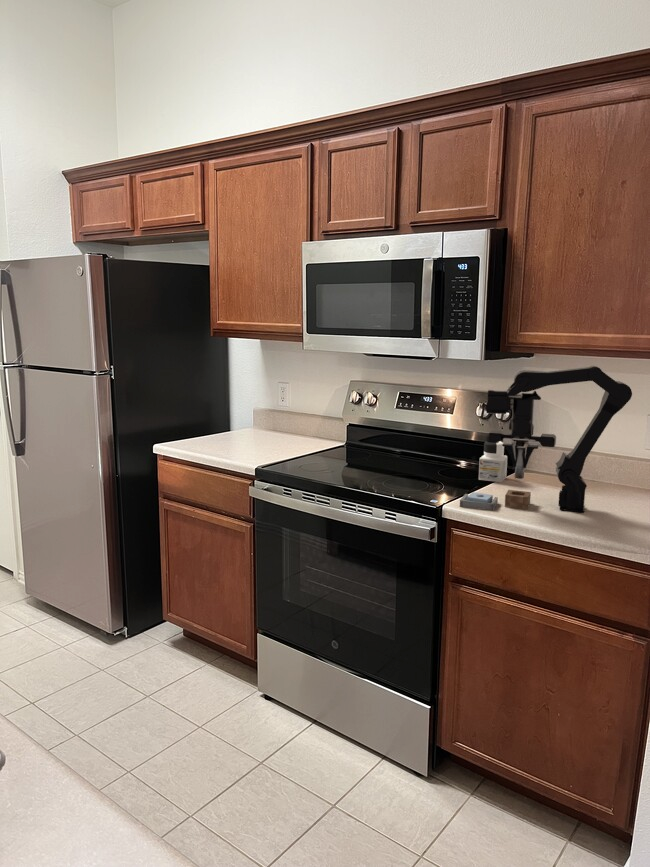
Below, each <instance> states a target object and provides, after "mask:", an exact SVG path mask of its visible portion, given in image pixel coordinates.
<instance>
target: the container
mask: <svg viewBox="0 0 650 867" xmlns="http://www.w3.org/2000/svg"><path fill="white" fill-rule="evenodd" d="M502 444H503V441H502V440H501V441H499V442H498V443H489V442H487V440H486V441H485V442H484V443H483V455H481V457H479V464H478V480H479V481H486V482H494V483H495V482H496V483H502V482H503V481H504V480H505V479H506V478H507V473H508V470H507V468H508V455H506V454H505V455H504V453H505V447H504V446H502Z"/></svg>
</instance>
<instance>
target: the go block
mask: <svg viewBox="0 0 650 867" xmlns="http://www.w3.org/2000/svg"><path fill="white" fill-rule="evenodd" d="M530 505H531V491H526V490H525V491H524V490H515V489H508V490H507V491H506V494H505V496H504V508H505V507H506V508H514V509H523V510H528V509H529V507H530Z"/></svg>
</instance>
